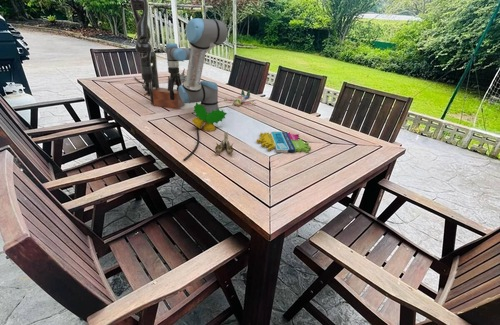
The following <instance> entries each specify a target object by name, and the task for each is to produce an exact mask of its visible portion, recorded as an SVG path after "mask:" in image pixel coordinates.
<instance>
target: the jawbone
mask: <svg viewBox="0 0 500 325" xmlns="http://www.w3.org/2000/svg"><path fill="white" fill-rule="evenodd" d="M223 135H224V136H223V140H222V139H221V142H220V144H218V142H215V144H216V146H215V148H214V149H215V152H214V154H215V155H217V156H218V155H220V153H221V152H223V151H224V150H226V152H227V153H228V155H229V156H233V155H234V154H233V153H234V148H233V144H234V143H230V140H228V139H229V138H228V137H229V136H228V135H229V133H228V131H226V132H224V134H223Z"/></svg>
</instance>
